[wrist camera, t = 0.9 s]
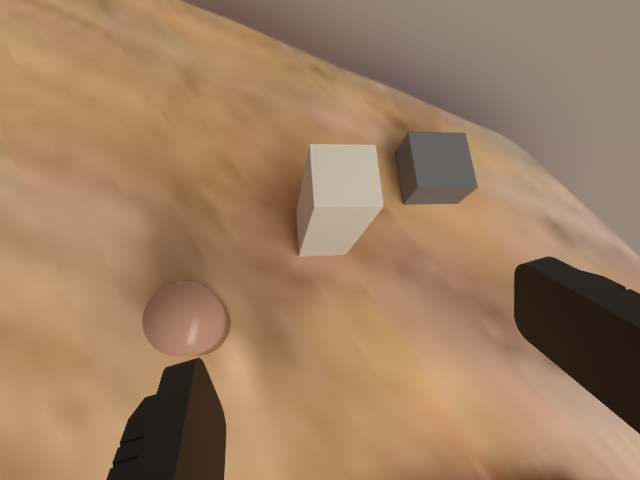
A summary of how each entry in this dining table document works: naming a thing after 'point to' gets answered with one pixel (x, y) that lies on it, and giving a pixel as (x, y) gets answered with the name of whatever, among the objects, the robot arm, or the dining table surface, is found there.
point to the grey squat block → (435, 168)
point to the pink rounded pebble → (185, 319)
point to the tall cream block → (337, 198)
